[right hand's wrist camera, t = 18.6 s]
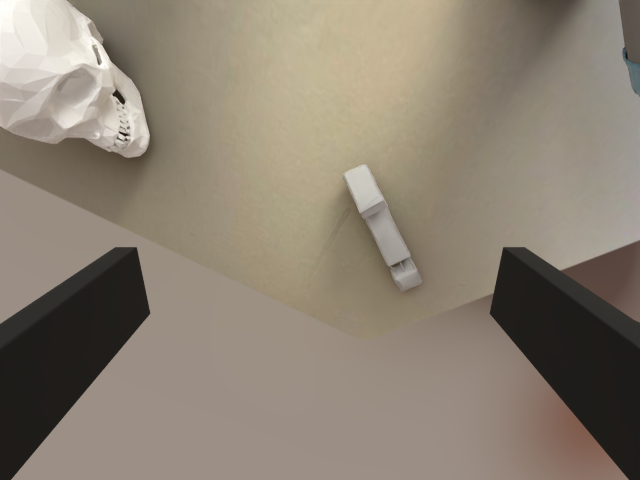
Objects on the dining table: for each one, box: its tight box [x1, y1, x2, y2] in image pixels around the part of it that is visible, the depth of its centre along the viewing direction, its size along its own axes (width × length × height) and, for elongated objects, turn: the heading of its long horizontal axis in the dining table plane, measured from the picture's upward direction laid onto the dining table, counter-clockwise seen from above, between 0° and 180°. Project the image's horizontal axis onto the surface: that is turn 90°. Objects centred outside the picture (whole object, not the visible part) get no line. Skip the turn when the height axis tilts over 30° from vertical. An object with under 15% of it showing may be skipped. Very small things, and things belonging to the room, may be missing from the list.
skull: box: [0, 0, 150, 158], centre depth 36 cm, size 13×22×16 cm, turn 39°
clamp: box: [343, 164, 422, 292], centre depth 47 cm, size 20×4×7 cm, turn 28°
